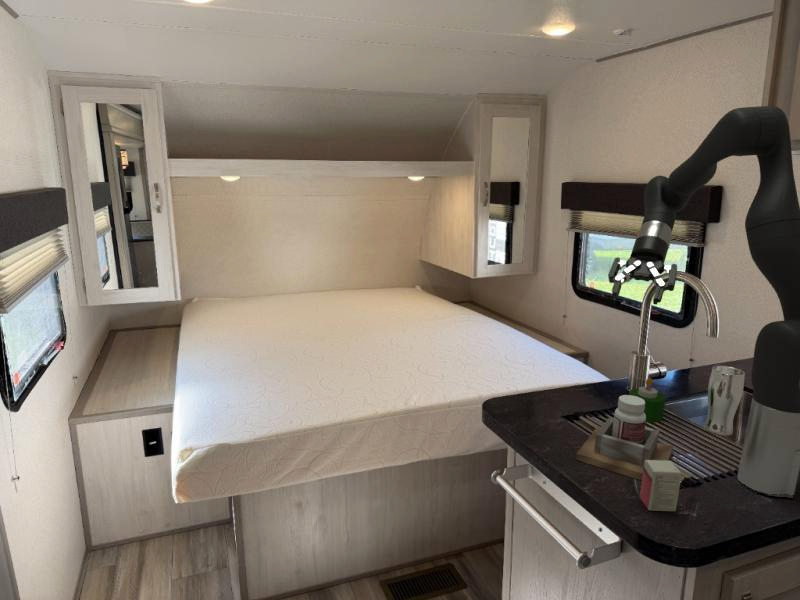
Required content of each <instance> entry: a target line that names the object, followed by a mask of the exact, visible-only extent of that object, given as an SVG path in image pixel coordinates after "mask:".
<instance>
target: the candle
mask: <svg viewBox="0 0 800 600" xmlns="http://www.w3.org/2000/svg"><path fill="white" fill-rule="evenodd" d="M645 384H646V385H645V386H639V387H637V388H632V389H630V390H629V393H628V395H632V396H636V397H639V398H642V399H643V400H644V401H645V410H644V411H643V412H644V413H645V415H646V423H659V422H662V421H663V420H664V419H663V417H664V412H665V405H666V398H667V397H666V396H665V395H664V394H663V393H661V392H659V391H658V390H657V389H656V388H655V387H654V388H653V387H652V385H653V379H652V378H651V377H647V379H646V381H645Z"/></svg>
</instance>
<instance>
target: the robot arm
mask: <svg viewBox="0 0 800 600" xmlns="http://www.w3.org/2000/svg"><path fill="white" fill-rule="evenodd" d="M734 156H735V157H746V156H747V157H748V156H756V157H757V161H758V165H759V166H758V167H759V173H760V175H759V176H760V178H759V186H758V189H757V191H756V193H755V196H754V197H753V199H752V201H751V203H750V206H749V209H748V211H747V214H746V216H745V222H744V229H745V234H746V238H747V239H746V240H747V245H748V249H749V253H750V256H751V259H752V261H753V262H754V264H755V265H756V267H757V269H758V270H759V271H760V273H761V274H762V275H763V277H764V278H765V279H766V280H767V282H768V283H769V284H770V286H771V287H772V289H773V290H774V292H775V293H776V295H777V299H779V304H780V306H781V307H780V308H781V310H782V316H783V317H782V318H783V320H777V321H771V322H769V323H767V324H765V325H764V326H763V327H762V328H761V329H760V331H759V333H758V335H757V338H756V341H755V345H754V351H753V359H752V367H751V376H750V379H751V385H752V391H753V392H752V399H751V404H750V409H749V415H748V419H747V425H746V429H745V434H744V436H745V437H744V440H743V445H742V452H741V456H740V462H739V465H738V472H737V481H738V482H739V481H740V482H741V483H742V484H745V485H746V486H748V487H750V488H752V489H754V490H757V491H761V492H764V493H768V494H777V495H779V494H789V495H794V496H795V492H796V487H797V482H798V478H799V473H800V203H799V197H798V193H797V187H796V186H797V185H796V180H795V173H794V166H793V165H794V164H793V153H792V141H791V131H790V126H789V120H788V118H787V115H786V112H784V110H782V109H781V108H780V107H778V106H774V105H762V106H761V105H760V106H747V107H745V106H743V107H736V108H733V109H731V110H730V111H728V112H727V113H725V114H724V115H723V116H722V117H721V118H720V119H719V121H717V123H715V125H714V126H713V128H712V129H711V130H710V132H709V133H708V134H707V135H706V136H705V138H704V139H703V141H702V142H701V143H700V145H698V147H697V149H696V150H695V151H694V152H693V153H692V154H691V155H690V156H689V157H688V158H687V159H686V160H684V161H683V162H682V163H681V164H680V165H678V166H677V167H676V168H675V169H674V170H673V171H671V173H670V174H669V176H668V177H667V176H664V175H656V176H654V177H652V178H651V179H650V180H649V181H648V182H647V183H646V186H645V189H644V193H643V203H644V205H643V206H644V217H643V220H642V223H641V226H640V228H639V230H638V232H637V234H636V237H635V240H634V244H633V247H632V249H631V254H630V257H629V258H628V259H627V260H621V259H620V257H615V258H614V260H613V262H612V264H611V267H610V270H609V271H608V274H607V277H608V282H609V283H610V284H613V285H612V289H611V294H612V297H613V298H614V299H616V300H617V299H619V295H620V293H621V289H622V286H623V285H624V284H625V283H628V282H631V281H632V280H634V281H644V282H650V281H652V283H653V285H654V286H655V292H654V296H653V299H652V302H653V305H655V306H656V305H658V303H661V302H662V299H663V296H664V293H665V292H666V291H670V292H673V291H674V290H675V286H676V281H677V276H678V264H677V263H672V264H671V265H665V261H666V257H667V255H668V251H669V248H670V246H671V241H672V240H671V239H672V233H673V229H674V226H675V223H676V222H675V221H676V220H677V219H676V213H677V212H681V211H682V210H684V209H685V208H686V207H687V205H688V203H689V201H690V200H691V198H692V196H693V195H694V194H695V192H696V191H698V190H699V189H701V188H702V187H704V186H705V185H707V184H708V183H710V181H711V180H712V179H713V177H714V176H715V175H716V172H717V169H718V163H720V162H721V161H723V160H725V159H727V158H731V157H734ZM624 267H625V268H624ZM623 268H624V270H623V271H622V272H621V273H619V272H620V271H621V270H622V269H623ZM664 272H666V274H667V276H668V280H667V281H666V282H665V281H664V280H663V279H662V277H661V274H663V273H664ZM618 273H619V274H618ZM740 482H739V483H740ZM741 483H740V484H741ZM742 484H741V485H742Z"/></svg>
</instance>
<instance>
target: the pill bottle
mask: <svg viewBox="0 0 800 600" xmlns="http://www.w3.org/2000/svg"><path fill="white" fill-rule="evenodd" d="M644 410H645V401H644V400H643V399H642V398H639V397H636V396H632V395H629V394H623V395H620V396H619V397H618V401H617V408H616V409H615V411H614V415H613V416H614V417H613V419H614V422H613V430H612V437H615V438H619V439H623V440H626V441H630V442H633V443H637V444H641V445H642V444H643V437H644V430H645V427H646V423H647V422H646V415H645V413H644V412H643V411H644Z"/></svg>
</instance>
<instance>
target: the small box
mask: <svg viewBox="0 0 800 600" xmlns="http://www.w3.org/2000/svg"><path fill="white" fill-rule="evenodd" d="M682 475H683V473H682V471H681V470H680V469H679V468H678V466H677V465H676V464H675V463H674V462H673V461H672V460H669V461H665V460H645V462H644V469H643V477H642V480H641V484H640V485H641V486H640V490H639V491H640V493H639V499H640V501H642V504H643V505H644V506H645V508H646V509H647V510H648V511H655V512H656V511H658V512H676V510H677V505H678V500H679V499H678V498H679V493H680V487H681V486H680V485H681V481H682Z"/></svg>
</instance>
